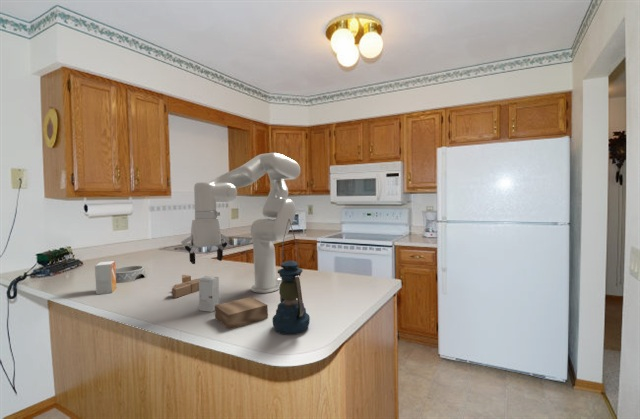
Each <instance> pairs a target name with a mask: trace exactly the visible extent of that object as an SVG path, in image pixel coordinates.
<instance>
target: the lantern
mask: <svg viewBox="0 0 640 419" xmlns="http://www.w3.org/2000/svg"><path fill="white" fill-rule="evenodd" d="M288 222H290V219H288ZM290 225H291V222H290ZM287 226H288V223H287ZM290 229H291V231H292V235H293V238H294V241H295V246H296V258H297V261H294V260H286V261H284V244H281V245H282V248H281V250H282V253H281V254H282V258H281V259H282V260H281V262H282V263H280V269H278V270H277V274H279V278H280V279H281V278H282V279H281V282H280V283H279V286H280V287H279V289H278V291H279V298H280V299H279V300H280V301H279V302H280V303H278V304H277V309H275V314H274V316H272V325H273V326H272V327H273V328H274V330H275V332H277V333H278V334H280V335H288V336H290V335H291V336H292V335H297V334H298V335H299V334H301V333H304V332H305V331H306V330H307V329H308V328H309V325H310V320H311V318H310V315H309V313H307V310H306V308H305V304H304V301H303V300H304V299H303V295H302V288H301V287H302V286H301V279H300V276H301V274H302V273H303V269H302V268H301V267H299V266H300V264H299V254H298V253H299V252H298V250H299V249H298V244H297V243H298V242H297V240H296V236H295V233H294V230H293V226H292V225H291V227H290ZM286 230H287V227H286ZM285 234H286V231H285ZM284 238H285V235H284ZM285 239H286V238H285ZM285 239H283V241H282V243H284V241H285Z"/></svg>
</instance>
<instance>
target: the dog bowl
mask: <svg viewBox="0 0 640 419" xmlns="http://www.w3.org/2000/svg"><path fill="white" fill-rule="evenodd" d="M115 269H116V284H122V283H123V284H124V283H130V282H135V280H136V279H138V278H140V277H141V276H142V275H143V276H144V278H147V277H148V276H147V272H146V269H145V267H144V266H143V265H129V266H128V265H127V266H120V267H115Z"/></svg>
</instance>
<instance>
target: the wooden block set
mask: <svg viewBox="0 0 640 419" xmlns="http://www.w3.org/2000/svg"><path fill="white" fill-rule="evenodd" d="M200 278H201V277H200ZM200 278H194V279H192V276H191V275H188V274H182V275H181V283H177V284H175V285H173V286H172V288H171V297H172V298H173V299H179V298H180V297H183V296H186V295H189V294H195V293H197V292H199V279H200Z"/></svg>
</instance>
